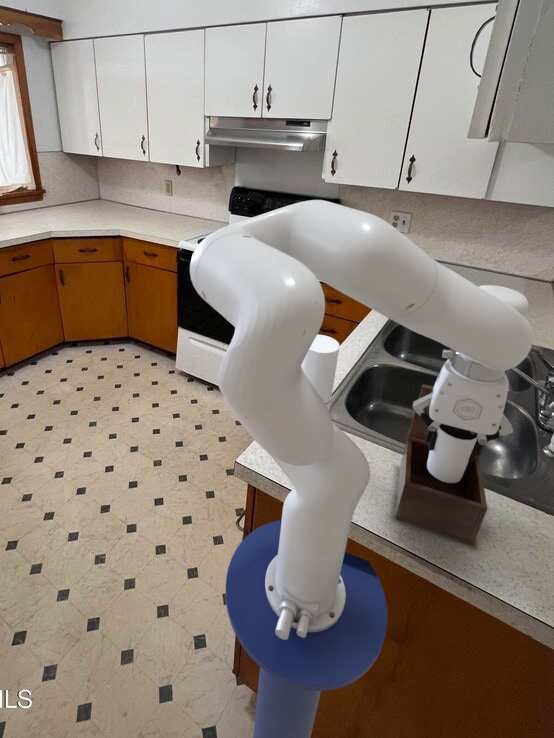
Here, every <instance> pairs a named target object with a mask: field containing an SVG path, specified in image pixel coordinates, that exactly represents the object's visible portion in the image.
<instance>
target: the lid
mask: <svg viewBox="0 0 554 738" xmlns="http://www.w3.org/2000/svg"><path fill="white" fill-rule="evenodd" d="M433 388H434V385H428V384H425V383H424V384H422V386H421V389H420V393H419V396H418V399H420V398H422V397H424V396H426V395H428V394H430V393H432V390H433ZM429 407H430V405H429V406H427V407H425V409H426V410H428V411H429ZM493 425H494V424H493ZM427 430H428V426H427V425H426V424H425V423H424V421H423V420H422V419H421V416H420V415H418V414H417V412H416V411H415V410H414V413H413V417H412V421H411V423H410V427H409V430H408V434H407V437H411V438H415V439H419V440H422V441H425V438H426V433H427ZM486 445H487V443H486V444H485V445H482V448H481V451H480V454H479V456H482V453H483V451H484V448H485V447H486Z"/></svg>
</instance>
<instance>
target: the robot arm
mask: <svg viewBox="0 0 554 738" xmlns="http://www.w3.org/2000/svg"><path fill="white" fill-rule="evenodd" d="M189 275H190V280H191V283H192V286H193V288H194V289H195V291H196V293H197V294H198V296H200V297H201V299H203V300H204V301H205V303H207V304H208V305H209V306H210V307H212V308H213V309H214V310H215V311H216V312H218V313H219V315H221V316H222V317H223V318H224V319H225V320H226V321H228V322H229V323H230V325H232V326H233V327H234V334H233V336H232V338H231V340H230V343H229V346H228V347H227V349H226V351H225V354H224V356H223V358H222V361H221V364H220V366H219V370H218V373H217V385H218V388H219V391H220V394H221V395H222V398H223V401H224V403H225V406H226V407H227V409H228V410H229V411H230V413H231V414H232V415H233V416H234V417H235V419H236V420H237V421H238V422H239V423H240V424H241V426H242V427H243V428H244V430H246V432H247V433H248V434H249V436H251V438H252V439H253V440H254V441H255V442H256V443H257V444H258V445H259V446H260V447H261V448H262V449H263V450H264V451H265V452H266V453H267V454H268V455H269V456H270V457H271V458H272V459H273V461H274V462H275V463H276V465H278V466H279V468H280V469H281V471H282V472H283V474H284V475H285V476H286V477H287V479H289V481H290V482H291V484H292V485H293V487H294V488H293V489H292V490H290V491H289V493H288V494H287V496H286V497H285V499H284V502H283V506H282V513H281V520H282V522H281V531H280V540H279V549H278V555H276V557H275V558H274V559H273V560H272V561H271V563H270V564H269V566H268V569H267V572H266V578H265V589H266V595H267V598H268V601H269V603H270V605H271V607H272V609H273V611H274V612H275V613H276V614H277V616H278V617H279V620H278V623H277V627H276V630H275V634H276V635H277V636H278V637H279V638H281V639H283V640H287V639H288V637H289V633H290V629H291V627H293V628H295V629H297V635H298V636H300V637H302V638H305V637H306V634H307V632H319V631H323V630H326V629H328V628H330V627H331V626H332V625H334V624H335V623H336V622H337V621H338V619H339V618H340V616H341V614H342V612H343V609H344V605H345V599H346V592H345V586H344V582H343V579H342V577H341V575H340V573H341V568H342V563H343V559H344V554H345V552H346V548H347V544H348V539H349V536H350V535H349V534H350V529H351V525H352V521H353V517H354V514H355V511H356V508H357V506H358V504H359V502H360V500H361V499H362V497H363V495H364V493H365V491H366V489H367V487H368V484H369V483H370V479H371V468H370V463H369V461H368V459H367V457H366V456H365V454H364V453H363V451H362V450H361V448H360V447H359V446H358V445H357V444H356V443H355V442H354V441H353V440H352V439H351V438H350V437H349V436H348V435H347V434H346V433H345V432H344V431H343V430H342V429H340V428H339V427H338V426H337V425H336V424H335V423H334V422H333V417H332V415H331V413H330V410H328V408H327V406H326V404H325V403H324V401H323V399H322V398H321V397H320V395H319V394H318V393H317V391H316V390H315V389H314V387H313V385H312V384H311V382H310V381H309V379H308V378H307V376H306V375H305V373H304V371H303V369H302V367H301V365H302V363H303V360H304V358H305V356H306V354H307V352H308V350H309V348H310V347H311V345H312V343H313V341H314V340H315V338H316V336H317V335H319V332H320V330H321V328H322V325H323V323H324V317H325V314H326V313H325V312H326V298H325V293H324V290H323V287H322V284H321V282H322V283H324V284H326V285H328V286H330V287H331V288H333V289H335V290H336V291H338V292H340V293H341V294H343V295H345V296H347V297H348V298H351V299H353V300H354V301H356V302H358V303H360V304H362V305H364V306H365V307H368V308H369V309H371V310H372V311H375V312H377V313H378V314H380V315H382V316H383V317H385V318H387V319H389V320H391V321H393V322H394V323H396V324H399V325H400V326H403V327H404V328H406V329H408V330H410V331H412V332H414V333H416V334H418V335H421V336H423V337H426V338H428V339H430V340H433V341H435V342H437V343H440V344H441V345H443V346H445V347H447V348H449V349H446V348H445V349H443V348H442V352H441V358H444V359H446V361H445V363H444V364H443V365H442V367H441V369H440V372H439V374H438V376H437V378H436V380H435V381H434V382H435V383H434V384H433V387H434V388H433V390H432V393H430V394H428V395H426V396H424V397H422V398H420V399H419V398H418V399H416V400H413V402H412V409H413V410H414V412H415V411H416V412H417V414H418V415H420V416H421V419H422V420H423V421H424V423H425V424H426V425H427V426H428V430H427V433H426V438H425V440H424V441H425V442H429V450H431V451H432V450H434V446H435V443H436V440H437V432H436V429H437V428H438V427H439V426H440V425H441V424H445V425H449V426H452V427H456V428H460V429H464V430H468V431H472V432H475V434H473V436H474V438H476V437H477V436H478V439H477V442H476V443H475V445H474V448H473V450H472V452H471V455H470V457H469V461H470V462H473V461H474V458H475V455H476V456H479V454H480V451H481V448H482V445H485V444H486V445H487V443H488V442H491V441H493V440H497V439H499V438H500V437H503V436H508V435H512V434H513V433H514V428H513V425H512V423H511V422H510V421H509V419H508V418H507V417H506V415H505V413H504V411H505V407H506V402H507V400H508V399H507V398H508V393H509V384H510V383H509V382H510V381H509V378H508V376H507V374H506V372H507V371H508V370H511V369H513V368H515V367H517V366H518V365H520V364H521V363H522V362H524V360H525V359H526V358H527V357H528V355H529V353H530V352H531V349H532V346H533V341H534V332H533V328H532V325H531V323H530V322H529V320H528V319H527V318H526V316H527V313H528V309H529V302H528V299H527V297H526V296H525V295H524V294H523V293H521V292H519V291H518V290H515V289H512V288H510V287H506V286H501V285H496V284H495V285H494V284H483V285H480V286H478V285H476V284H475V283H473V282H472V281H470V280H468V279H467V278H465V277H464V276H462V275H460V274H459V273H458V272H455V271H453V270H452V269H450V268H448V267H446V266H445V265H443V264H441V263H440V262H438V261H437V260H435V259H434V257H431V256H430V255H429V254H428V253H427V252H425V251H424V250H423V249H421V248H420V247H419V246H418V245H417V244H415V243H414V242H413V241H412V240H410V239H409V238H408V237H407V236H406V235H404V234H403V233H402V232H401V231H399V229H397V228H396V227H394V225H392V224H391V223H389V222H388V221H386V220H385V219H382V218H381V217H379V216H378V215H374V214H373V213H369V212H366V211H362V210H359V209H356V208H352V207H348V206H346V205H342V204H339V203H335V202H331V201H328V200H323V199H311V200H305V201H299V202H296V203H293V204H289V205H285V206H283V207H280V208H276V209H274V210H270V211H267V212H265V213H262V214H258V215H256V216H252V217H250V218H247V219H244V220H241V221H237V222H234V223H232V224H228V225H225V226H223V227H221V228H219V229H217V230H215V231H213V232H211V233H209V235H207V236H206V237H205V238H204V239H202V241H200V243H199V244H198V245H197V246H196V248H195V249H194V252H193V253H192V256H191V260H190V262H189ZM429 405H430V407H429V411H428V410H426V409H425V407H427V406H429ZM493 424H494V425H493ZM486 445H485V446H486ZM270 590H271V591H270ZM331 617H332V618H331ZM294 621H296V622H297V623H296V622H294Z"/></svg>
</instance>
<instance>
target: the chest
mask: <svg viewBox="0 0 554 738" xmlns="http://www.w3.org/2000/svg"><path fill="white" fill-rule="evenodd" d="M429 452H430V450H429V442H425V440H421V439H417V438H414V437H410V436H407V438H406V441H405V445H404V450H403V454H402V456H401V461H400V465H399V469H398V478H397V490H396V502H395V503H396V504H395V505H396V506H395V515H394V519H395V520H399V521H402V522H405V523H407V524H411V525H413V526H416V527H419V528H422V529H425V530H427V531H431V532H433V533H437V534H439V535H442V536H445V537H448V538H452V539H454V540H458V541H460V542H463V543H466V544H469V545H474V543H475V541H476V538H477V536H478V533H479V531H480V529H481V526H482V524H483V521H484V519H485V516H486V514H487V511H488V504H487V499H486V498H487V496H486V491H485V490H486V489H485V484H484V477H483V470H482V464H481V457H480V456H481V455H480V456H476V455H475V458H474V461H473V462H470V461H468V464H467V466H466V469H465V471H464V473H463V476H462V478H461V480H460V481H458V482H456V483H447V482H443V481H441V480H439V479H437V478H435V477H434V476H433V475H432V474H431V473H430V472H429V470H428V469H427V461H428V457H429Z"/></svg>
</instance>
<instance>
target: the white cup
mask: <svg viewBox="0 0 554 738" xmlns="http://www.w3.org/2000/svg"><path fill="white" fill-rule="evenodd" d="M436 432H437V440H436V443H435V446H434V450H432V451H431V450H430V452H429V457H428V461H427V469H428V470H429V472H430V473H431V474H432V475H433V476H434V477H435V478H437V479H439V480H441V481H443V482H447V483H456V482H458V481H460V480H461V478H462V476H463V473H464V471H465V469H466V466H467V464H468V461H469V457H470V455H471V452H472V450H473V448H474V445H475V443H476V442H477V439H478V436H477V437H476V438H474V436H473V434H475V432H472V431H468V430H464V429H460V428H456V427H452V426H449V425H445V424H441V425H440V426H439V427H438V428H437V429H436Z"/></svg>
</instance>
